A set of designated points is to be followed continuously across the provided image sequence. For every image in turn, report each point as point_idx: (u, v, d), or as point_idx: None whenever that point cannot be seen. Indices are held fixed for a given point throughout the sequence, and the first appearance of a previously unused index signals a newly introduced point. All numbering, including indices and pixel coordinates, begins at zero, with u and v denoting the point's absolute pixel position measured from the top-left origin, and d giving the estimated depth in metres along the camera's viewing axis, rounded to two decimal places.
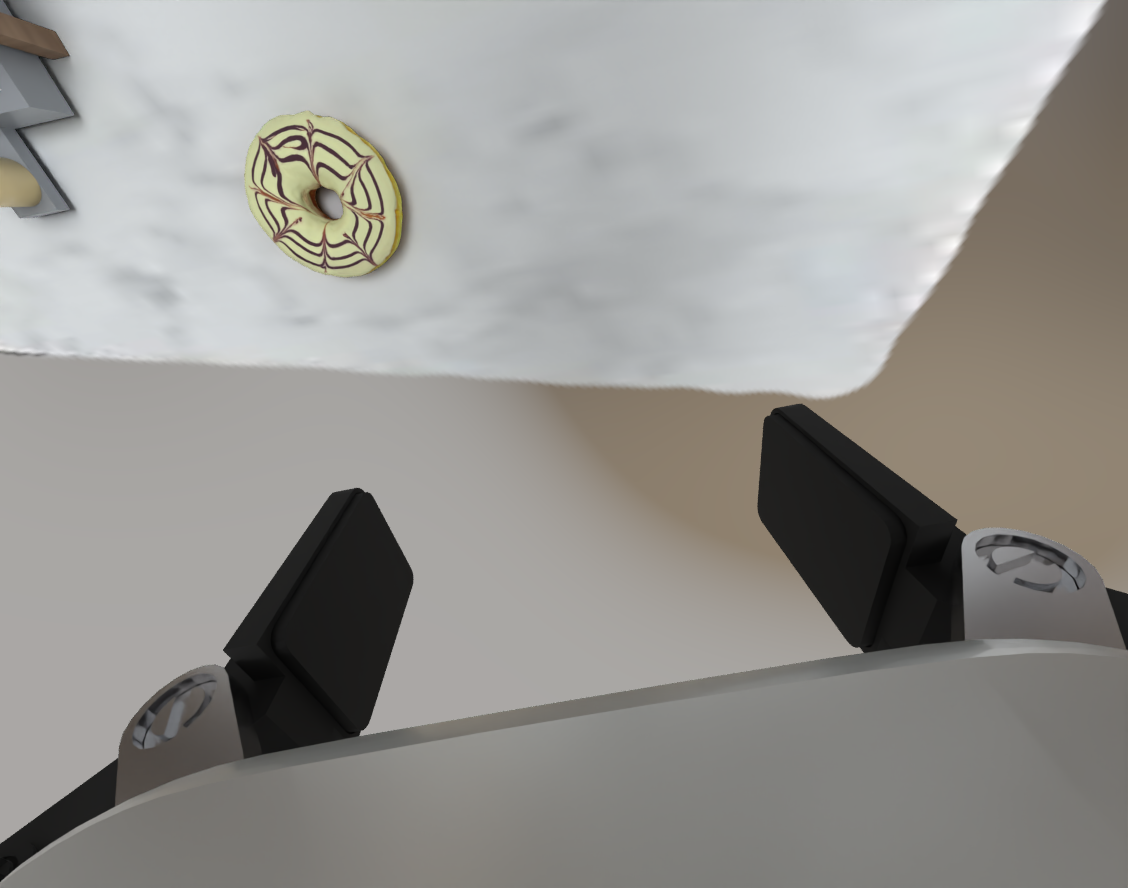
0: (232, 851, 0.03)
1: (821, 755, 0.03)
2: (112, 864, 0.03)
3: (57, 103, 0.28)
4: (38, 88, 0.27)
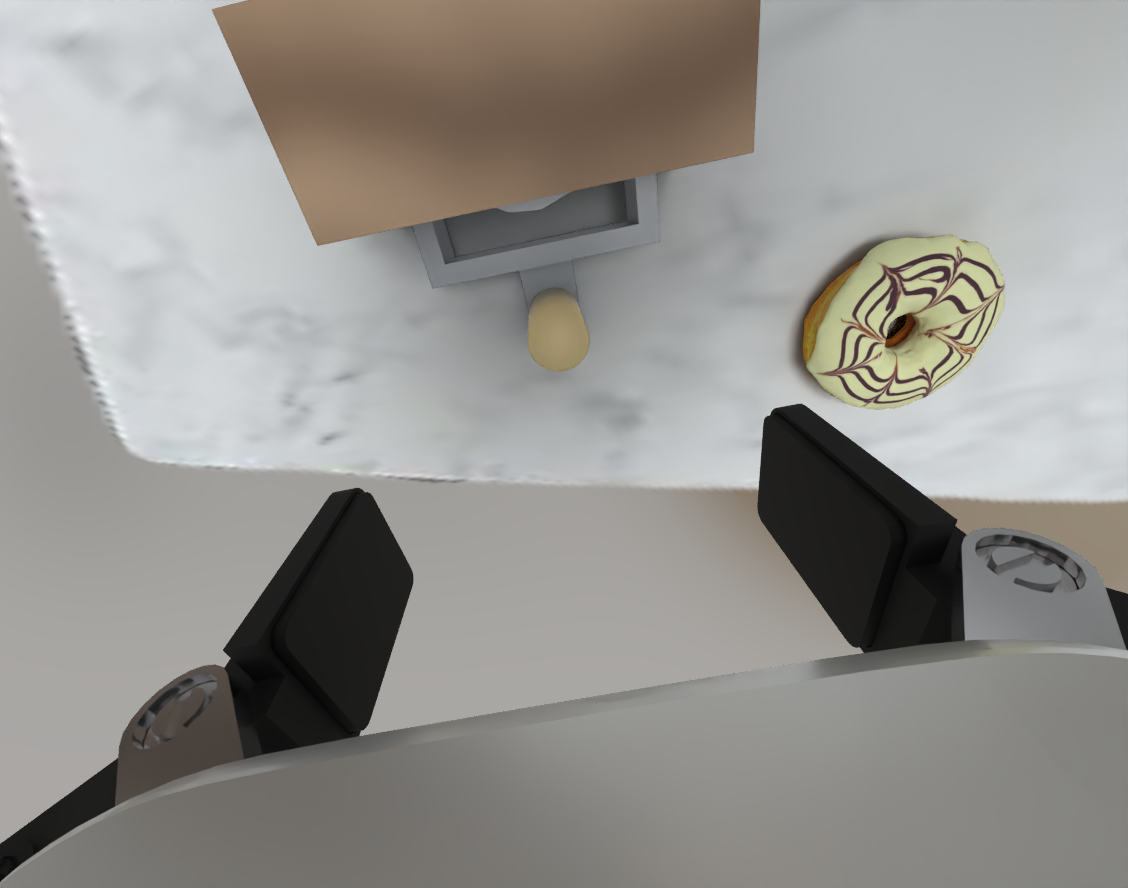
0: (232, 851, 0.03)
1: (820, 753, 0.03)
2: (112, 864, 0.03)
3: None
4: None
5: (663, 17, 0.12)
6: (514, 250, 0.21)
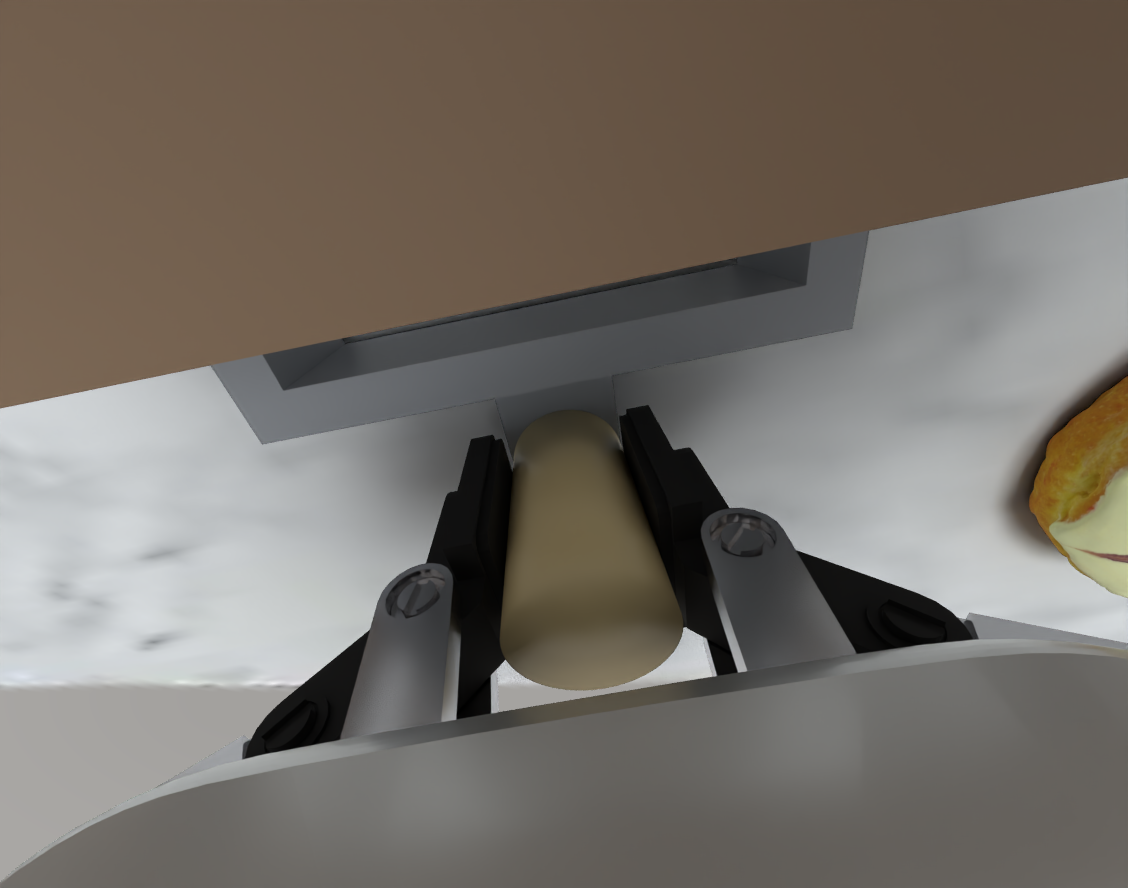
0: (232, 851, 0.03)
1: (821, 755, 0.03)
2: (112, 866, 0.03)
3: None
4: None
5: None
6: (468, 353, 0.08)
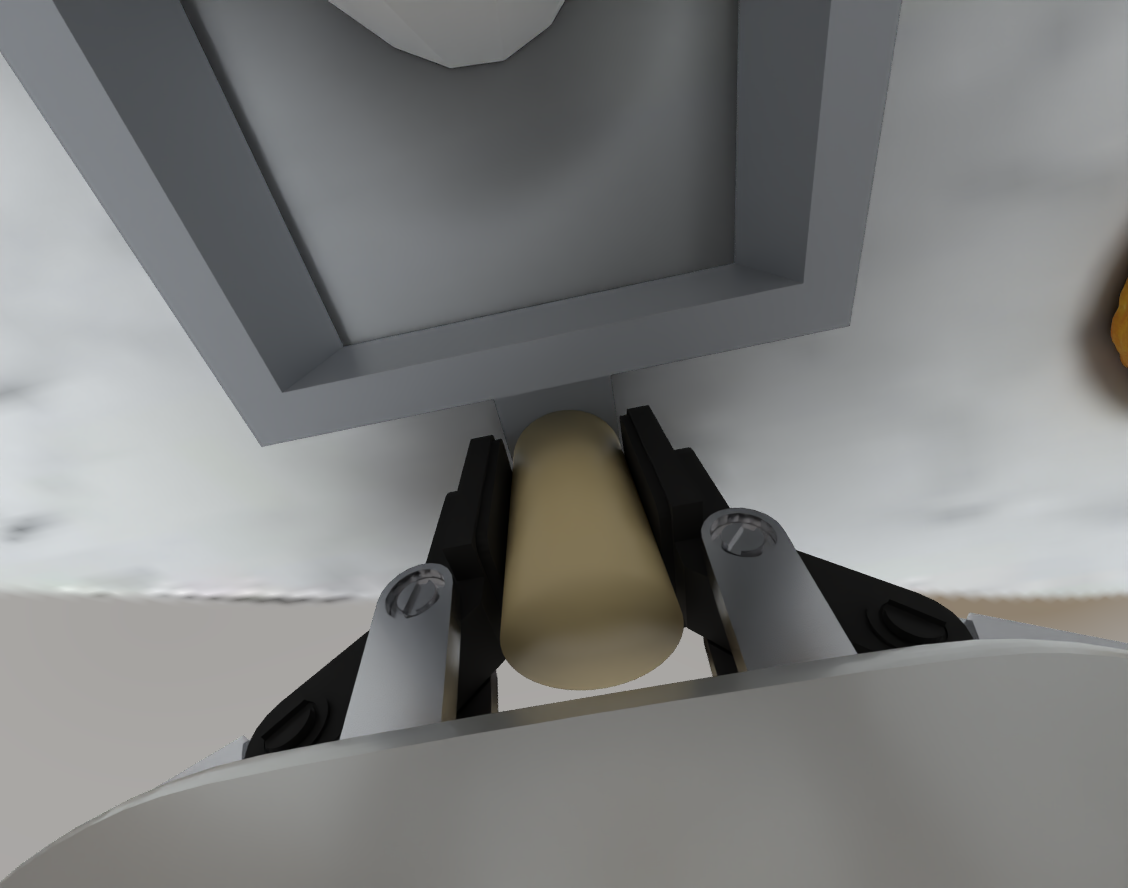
0: (233, 851, 0.03)
1: (822, 755, 0.03)
2: (113, 864, 0.03)
3: None
4: None
5: None
6: (466, 354, 0.08)
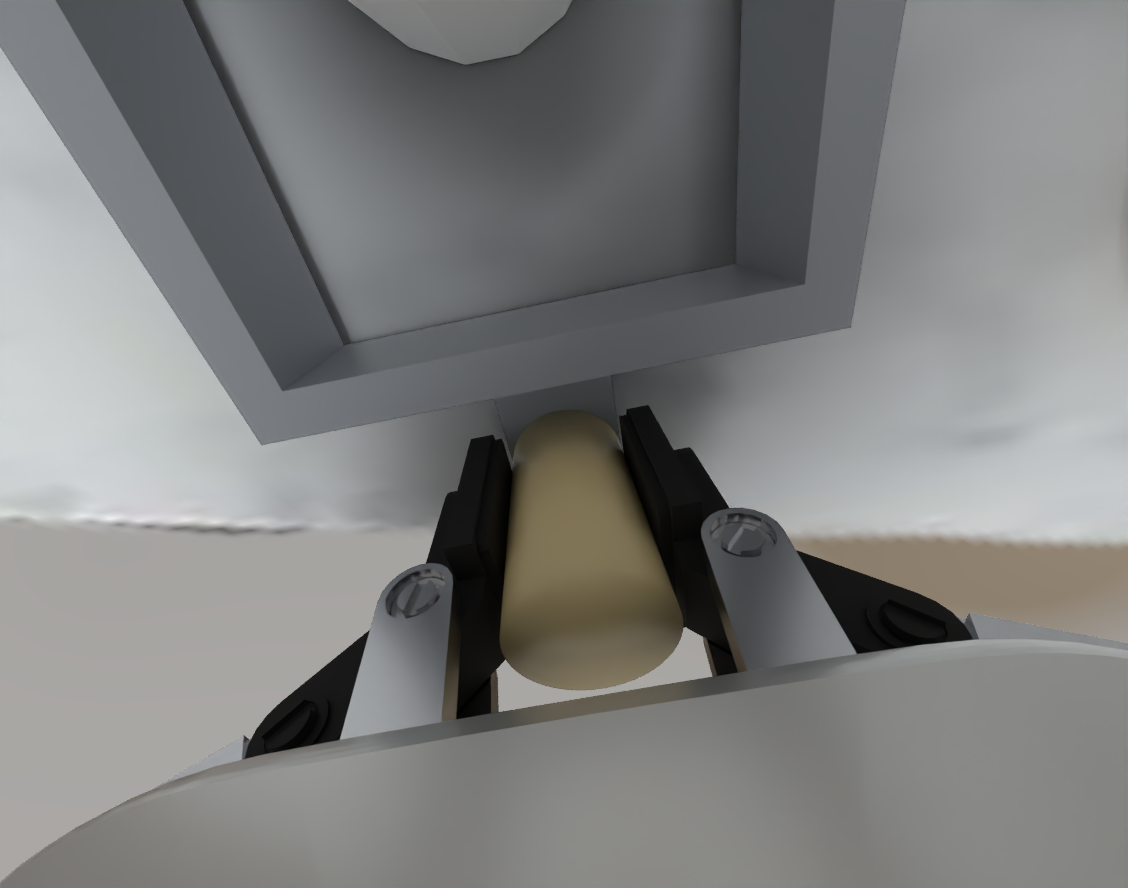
0: (232, 851, 0.03)
1: (820, 753, 0.03)
2: (112, 864, 0.03)
3: None
4: None
5: None
6: (467, 353, 0.08)
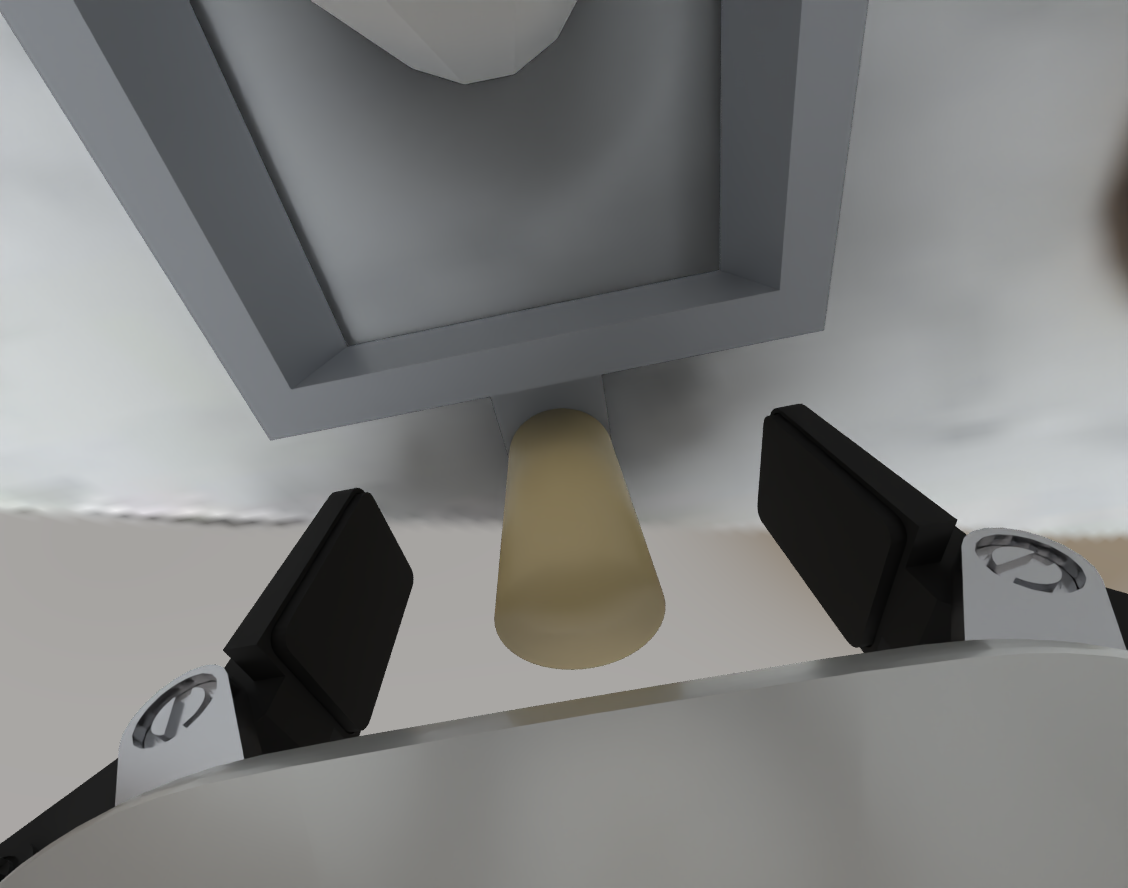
0: (232, 851, 0.03)
1: (821, 755, 0.03)
2: (112, 864, 0.03)
3: None
4: None
5: None
6: (465, 354, 0.08)
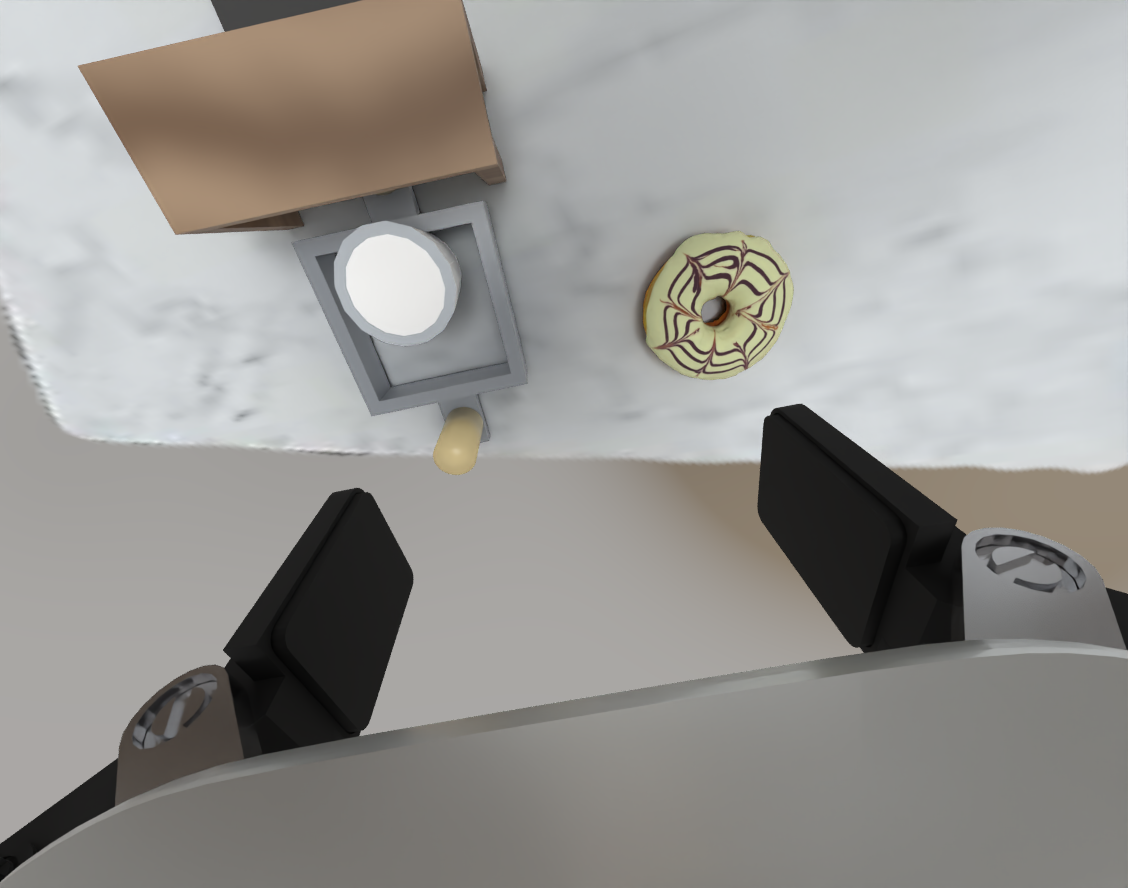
0: (232, 851, 0.03)
1: (820, 753, 0.03)
2: (110, 866, 0.03)
3: (525, 367, 0.33)
4: (523, 362, 0.32)
5: (406, 70, 0.17)
6: (427, 391, 0.31)
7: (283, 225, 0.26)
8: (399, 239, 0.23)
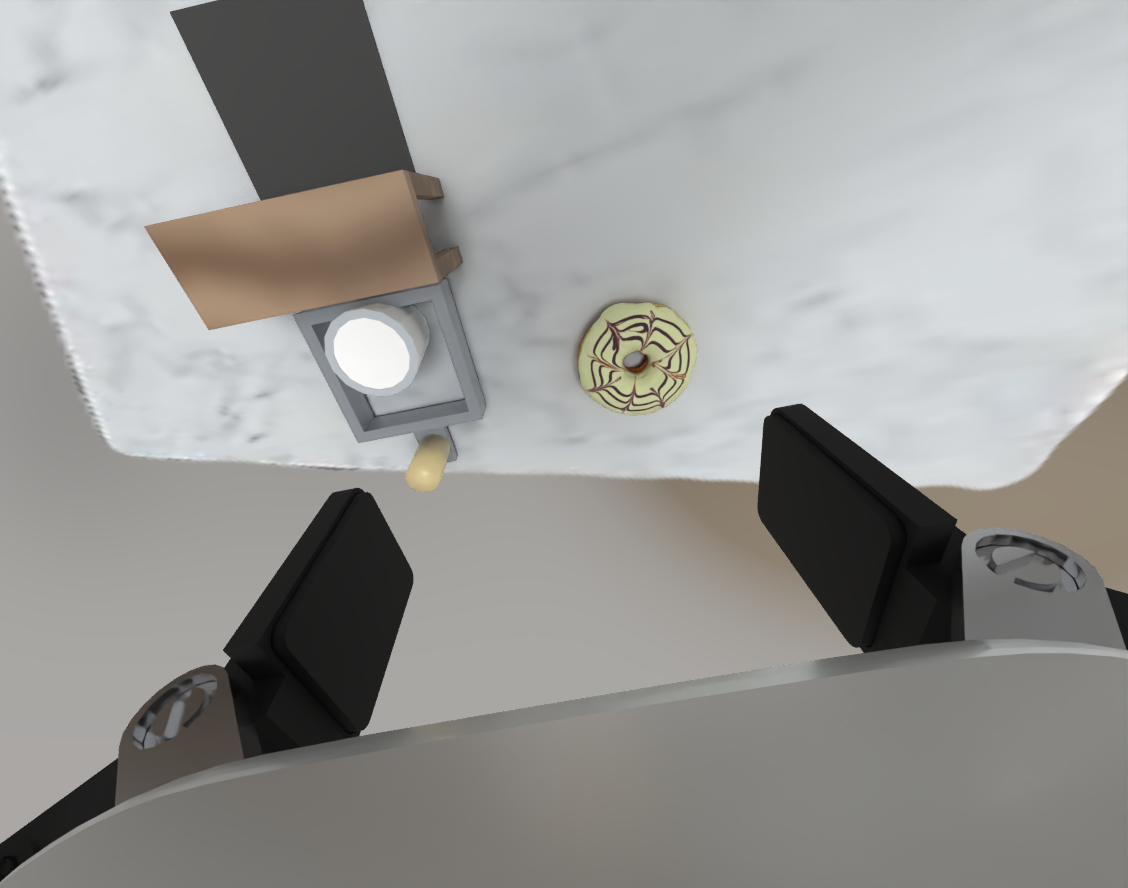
0: (232, 851, 0.03)
1: (821, 755, 0.03)
2: (112, 864, 0.03)
3: (483, 403, 0.40)
4: (480, 400, 0.39)
5: (370, 225, 0.24)
6: (402, 424, 0.38)
7: None
8: (373, 321, 0.30)
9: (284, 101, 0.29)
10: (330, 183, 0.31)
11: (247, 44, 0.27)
